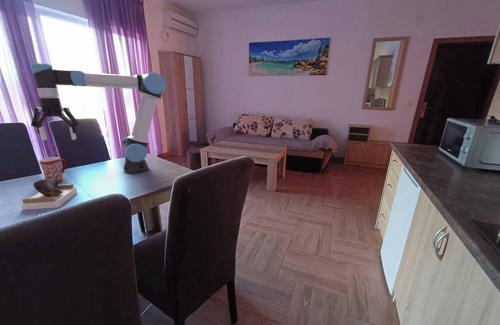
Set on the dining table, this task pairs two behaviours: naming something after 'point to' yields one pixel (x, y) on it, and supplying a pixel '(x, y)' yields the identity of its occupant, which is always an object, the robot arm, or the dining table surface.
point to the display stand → (49, 198)
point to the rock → (47, 187)
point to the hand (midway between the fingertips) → (59, 139)
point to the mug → (52, 167)
